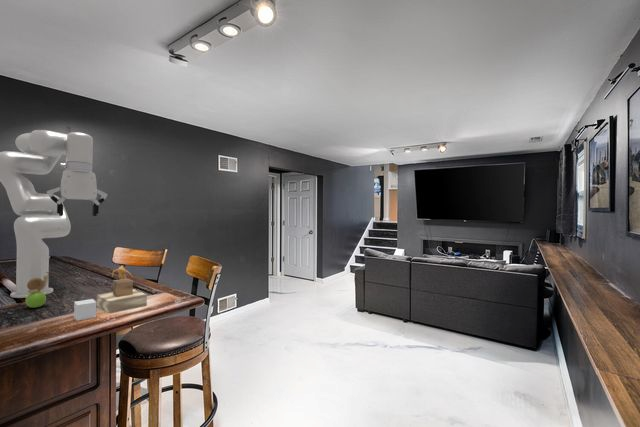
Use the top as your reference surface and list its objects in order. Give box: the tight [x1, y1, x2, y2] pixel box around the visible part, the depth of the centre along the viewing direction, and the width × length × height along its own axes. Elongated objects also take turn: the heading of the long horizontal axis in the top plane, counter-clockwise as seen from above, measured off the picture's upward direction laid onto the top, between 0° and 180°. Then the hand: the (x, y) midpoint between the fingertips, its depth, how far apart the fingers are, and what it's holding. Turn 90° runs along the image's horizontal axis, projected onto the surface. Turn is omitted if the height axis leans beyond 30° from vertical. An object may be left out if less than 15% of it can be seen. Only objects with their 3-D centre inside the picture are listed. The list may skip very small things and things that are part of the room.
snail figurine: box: [25, 271, 50, 309], centre depth 110 cm, size 5×6×12 cm
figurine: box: [111, 265, 134, 280], centre depth 129 cm, size 8×6×12 cm
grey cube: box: [73, 298, 97, 322], centre depth 102 cm, size 5×5×5 cm
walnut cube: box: [112, 278, 134, 297], centre depth 115 cm, size 5×5×5 cm
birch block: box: [96, 288, 148, 314], centre depth 114 cm, size 12×12×4 cm
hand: (78, 215), depth 113 cm, fingers open, 9 cm apart
